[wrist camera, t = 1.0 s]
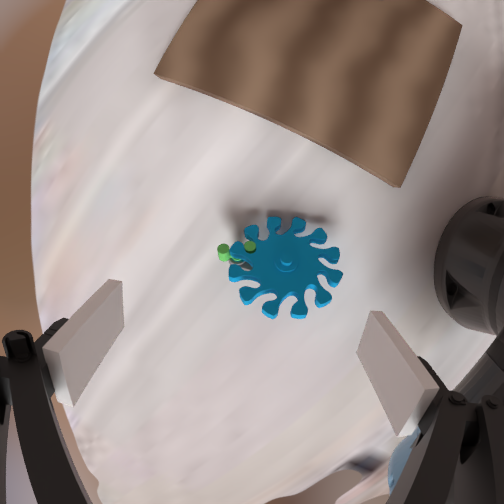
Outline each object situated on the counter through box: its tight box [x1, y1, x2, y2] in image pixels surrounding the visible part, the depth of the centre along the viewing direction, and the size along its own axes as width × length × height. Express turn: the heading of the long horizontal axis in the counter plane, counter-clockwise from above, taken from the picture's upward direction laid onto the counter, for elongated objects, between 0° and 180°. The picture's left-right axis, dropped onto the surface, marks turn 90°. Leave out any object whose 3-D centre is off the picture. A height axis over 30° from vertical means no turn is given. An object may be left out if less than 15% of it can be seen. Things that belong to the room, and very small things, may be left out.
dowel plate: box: [154, 0, 462, 188], centre depth 21 cm, size 26×22×9 cm
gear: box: [217, 217, 343, 319], centre depth 29 cm, size 11×6×10 cm
